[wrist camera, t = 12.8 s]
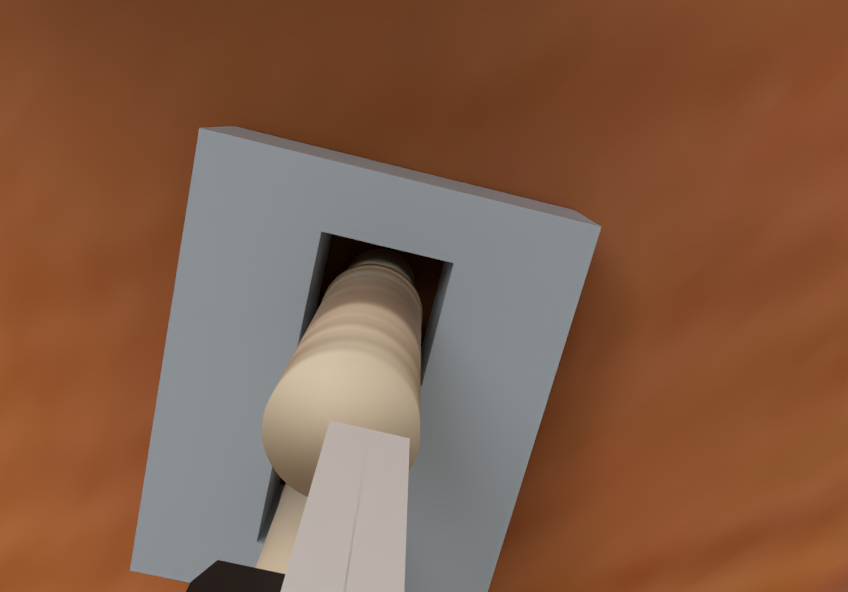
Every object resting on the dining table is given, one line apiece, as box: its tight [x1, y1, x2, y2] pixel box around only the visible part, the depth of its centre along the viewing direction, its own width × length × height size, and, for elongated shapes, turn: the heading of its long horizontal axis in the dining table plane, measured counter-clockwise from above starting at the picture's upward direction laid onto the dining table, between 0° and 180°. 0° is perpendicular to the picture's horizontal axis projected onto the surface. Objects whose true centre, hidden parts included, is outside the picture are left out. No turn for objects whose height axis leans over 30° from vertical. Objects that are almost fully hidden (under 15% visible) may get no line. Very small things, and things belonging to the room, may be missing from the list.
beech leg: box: [262, 249, 422, 497], centre depth 25 cm, size 4×4×16 cm
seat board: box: [130, 126, 601, 592], centre depth 26 cm, size 20×16×16 cm
